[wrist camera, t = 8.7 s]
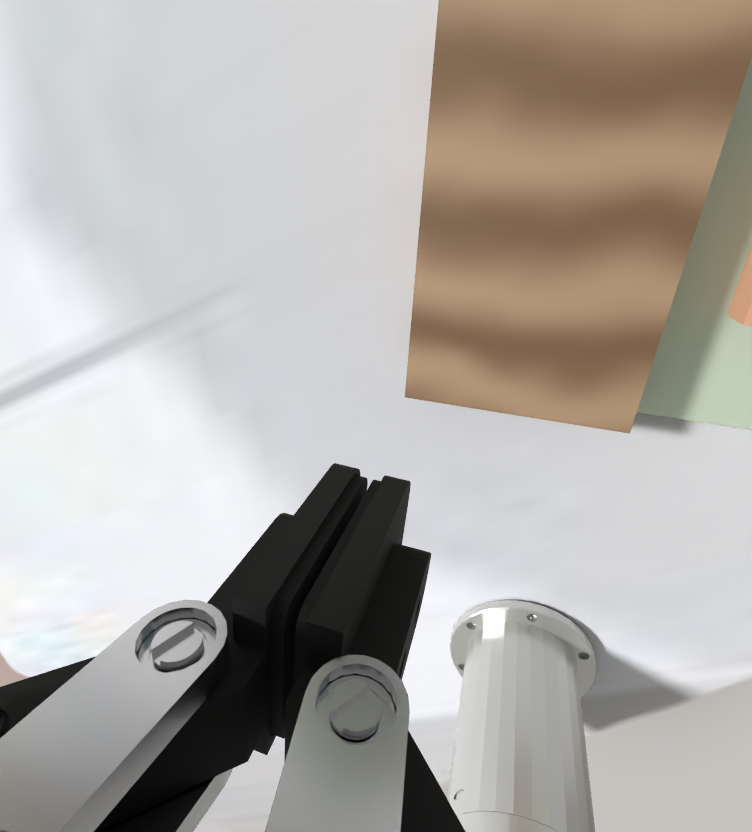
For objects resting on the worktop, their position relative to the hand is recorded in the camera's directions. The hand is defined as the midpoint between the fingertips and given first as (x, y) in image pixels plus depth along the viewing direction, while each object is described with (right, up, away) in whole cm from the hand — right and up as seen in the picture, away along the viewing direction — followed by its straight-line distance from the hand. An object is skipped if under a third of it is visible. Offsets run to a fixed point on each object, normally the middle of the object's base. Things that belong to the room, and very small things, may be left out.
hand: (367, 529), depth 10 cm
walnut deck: (+11, +14, +19) cm, 26 cm away
